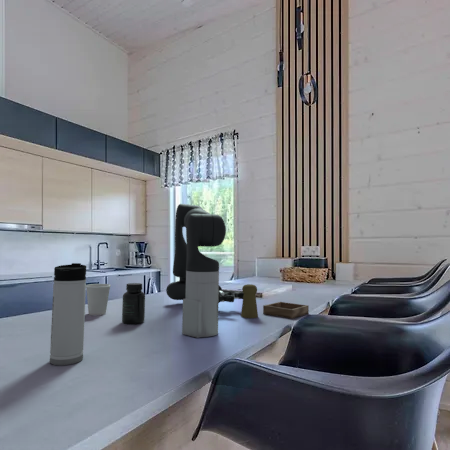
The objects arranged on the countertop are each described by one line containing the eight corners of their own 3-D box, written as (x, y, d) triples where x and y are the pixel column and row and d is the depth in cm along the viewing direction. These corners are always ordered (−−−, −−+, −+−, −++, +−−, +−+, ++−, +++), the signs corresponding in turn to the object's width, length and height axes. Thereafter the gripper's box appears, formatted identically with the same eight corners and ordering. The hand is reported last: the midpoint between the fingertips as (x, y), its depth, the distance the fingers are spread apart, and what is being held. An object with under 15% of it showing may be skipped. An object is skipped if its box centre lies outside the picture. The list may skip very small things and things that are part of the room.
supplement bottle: (133, 319, 111) (134, 282, 112) (149, 321, 107) (150, 283, 108) (117, 322, 105) (118, 283, 106) (132, 325, 101) (134, 285, 102)
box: (292, 318, 115) (292, 309, 115) (263, 313, 122) (263, 305, 123) (308, 313, 124) (308, 305, 124) (280, 309, 132) (280, 301, 132)
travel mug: (88, 355, 74) (91, 263, 75) (75, 365, 67) (80, 265, 69) (58, 355, 74) (63, 263, 75) (43, 365, 67) (48, 264, 68)
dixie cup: (79, 315, 115) (80, 285, 116) (94, 310, 123) (95, 283, 124) (100, 316, 113) (101, 286, 114) (114, 312, 121) (115, 284, 122)
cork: (258, 315, 120) (258, 283, 121) (258, 318, 114) (258, 285, 115) (241, 314, 121) (241, 283, 122) (240, 317, 115) (240, 285, 116)
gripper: (194, 285, 126) (228, 288, 115) (219, 282, 137) (252, 285, 126) (194, 305, 125) (228, 311, 115) (219, 301, 136) (252, 306, 126)
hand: (241, 297), depth 120 cm, fingers open, 8 cm apart
